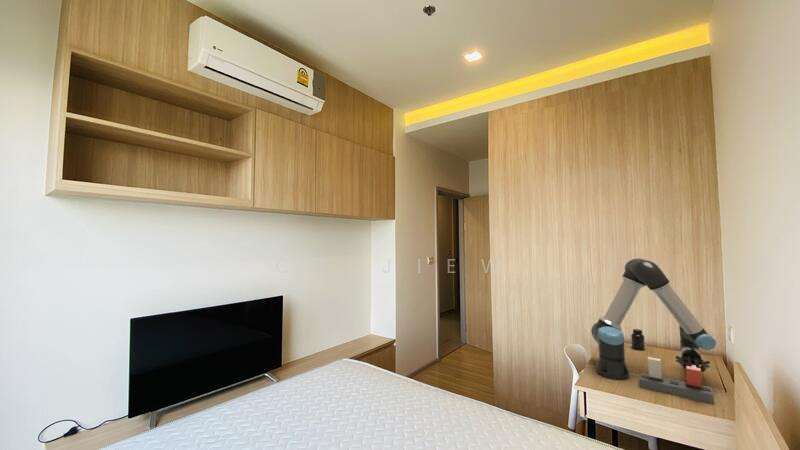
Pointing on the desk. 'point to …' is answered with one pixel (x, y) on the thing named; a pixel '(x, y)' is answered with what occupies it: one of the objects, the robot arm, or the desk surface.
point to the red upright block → (693, 376)
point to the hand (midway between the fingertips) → (695, 373)
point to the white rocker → (654, 367)
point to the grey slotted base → (677, 388)
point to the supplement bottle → (637, 340)
